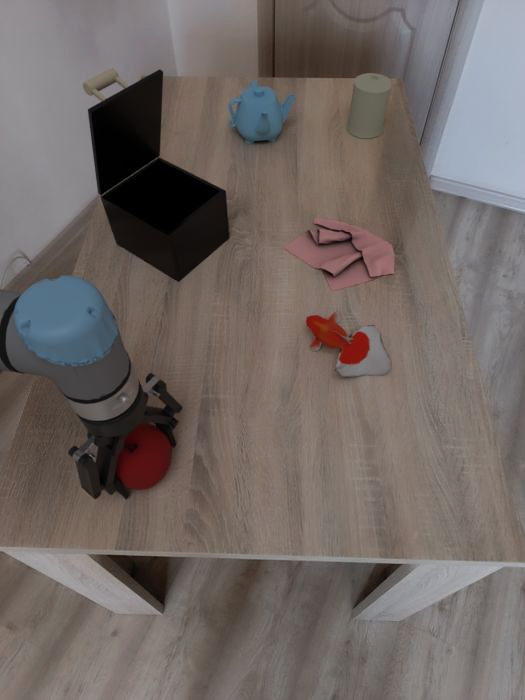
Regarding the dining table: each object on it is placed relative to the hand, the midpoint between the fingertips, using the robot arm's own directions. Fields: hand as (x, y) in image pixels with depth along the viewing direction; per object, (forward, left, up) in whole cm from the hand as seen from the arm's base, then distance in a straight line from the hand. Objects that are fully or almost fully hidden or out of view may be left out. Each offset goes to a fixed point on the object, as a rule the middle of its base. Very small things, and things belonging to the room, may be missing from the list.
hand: (146, 465), depth 71 cm
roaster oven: (+19, +45, 0) cm, 49 cm away
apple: (0, 0, 0) cm, 1 cm away
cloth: (+49, +28, -1) cm, 57 cm away
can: (+77, +64, -1) cm, 100 cm away
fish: (+37, +5, -1) cm, 38 cm away
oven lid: (+16, +50, +20) cm, 56 cm away
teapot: (+52, +73, -1) cm, 90 cm away
